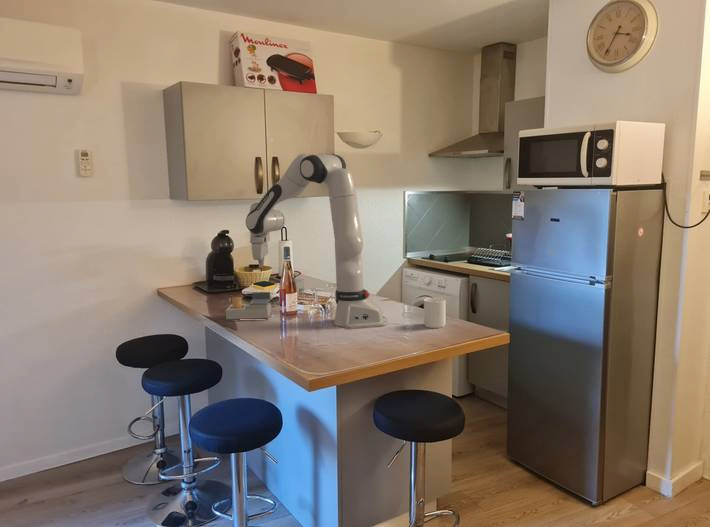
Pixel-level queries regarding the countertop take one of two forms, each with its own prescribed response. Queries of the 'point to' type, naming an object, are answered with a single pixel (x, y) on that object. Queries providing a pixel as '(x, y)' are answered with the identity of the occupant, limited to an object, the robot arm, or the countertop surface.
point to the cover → (260, 298)
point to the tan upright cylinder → (237, 302)
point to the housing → (248, 312)
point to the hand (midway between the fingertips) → (261, 266)
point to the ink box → (300, 285)
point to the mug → (434, 312)
